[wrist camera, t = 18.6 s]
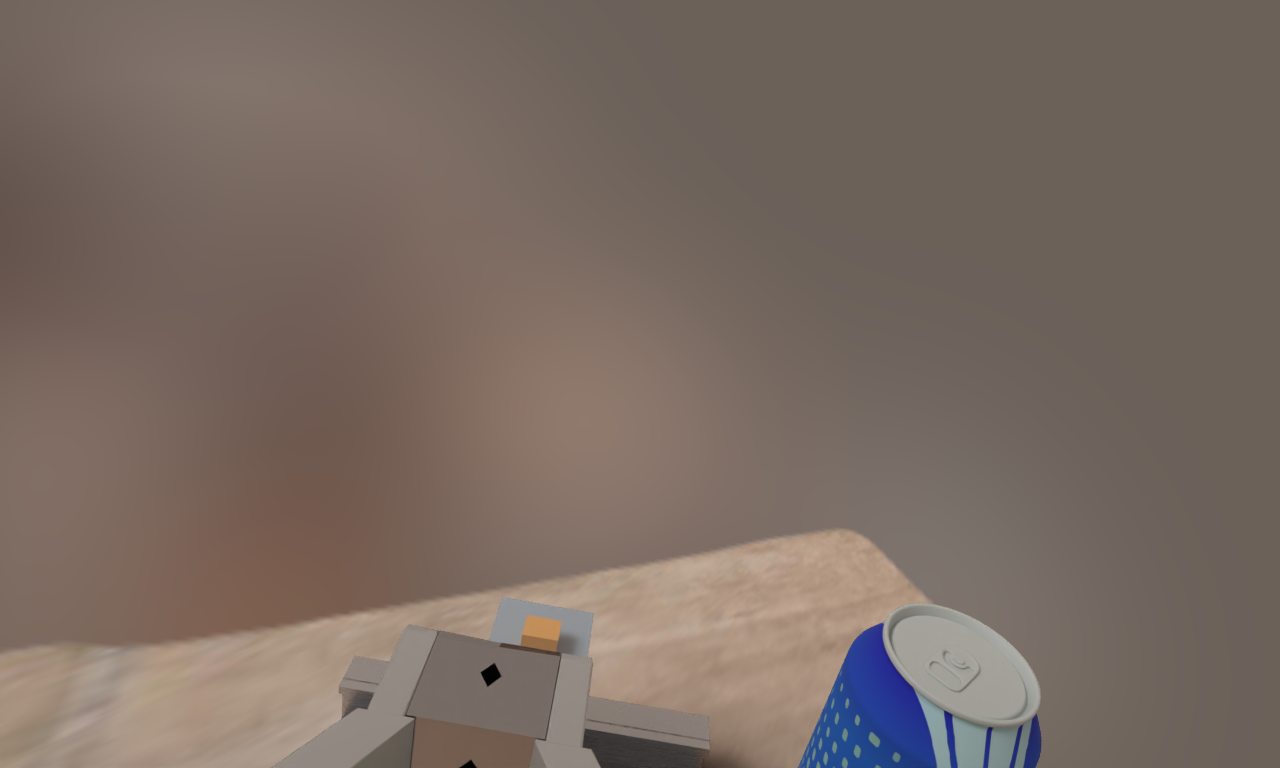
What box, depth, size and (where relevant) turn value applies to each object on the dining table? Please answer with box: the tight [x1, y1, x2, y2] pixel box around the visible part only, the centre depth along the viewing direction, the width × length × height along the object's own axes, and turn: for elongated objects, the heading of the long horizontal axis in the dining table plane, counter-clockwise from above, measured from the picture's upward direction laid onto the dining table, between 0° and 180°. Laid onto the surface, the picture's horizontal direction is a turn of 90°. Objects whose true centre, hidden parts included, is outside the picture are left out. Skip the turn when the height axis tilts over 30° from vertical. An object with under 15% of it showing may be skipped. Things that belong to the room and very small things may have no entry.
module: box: [489, 597, 594, 658], centre depth 34 cm, size 4×5×12 cm
